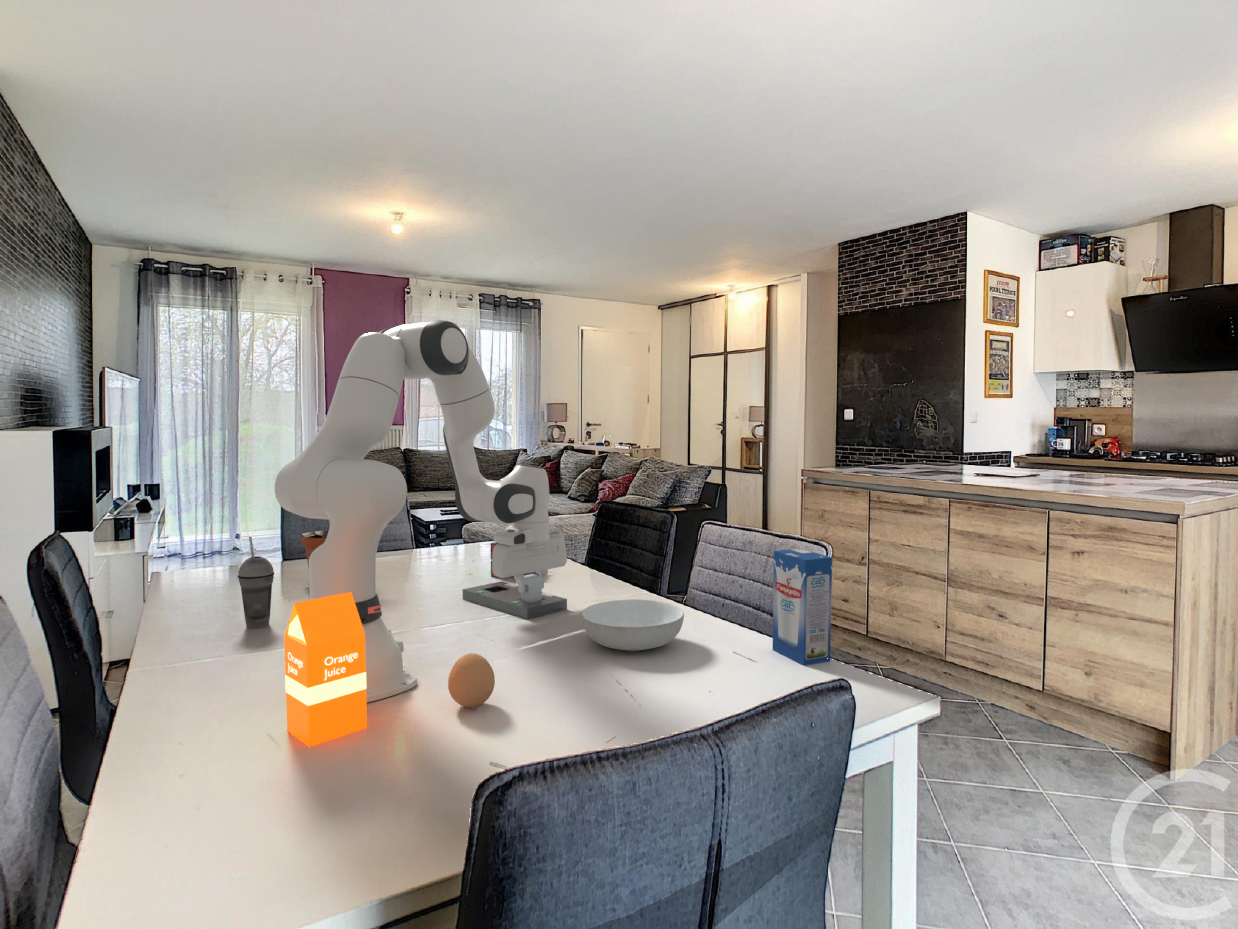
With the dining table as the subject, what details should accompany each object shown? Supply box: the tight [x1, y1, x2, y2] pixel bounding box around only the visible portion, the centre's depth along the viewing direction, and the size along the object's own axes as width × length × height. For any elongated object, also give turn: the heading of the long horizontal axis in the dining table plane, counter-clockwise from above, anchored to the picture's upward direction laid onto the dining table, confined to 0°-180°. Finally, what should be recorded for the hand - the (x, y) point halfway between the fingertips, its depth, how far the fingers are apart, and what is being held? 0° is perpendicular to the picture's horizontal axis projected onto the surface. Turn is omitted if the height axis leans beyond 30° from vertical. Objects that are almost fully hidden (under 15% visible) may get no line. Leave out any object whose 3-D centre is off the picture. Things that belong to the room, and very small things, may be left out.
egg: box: [447, 652, 496, 709], centre depth 115 cm, size 7×7×8 cm
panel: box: [462, 581, 568, 621], centre depth 176 cm, size 26×12×3 cm, turn 46°
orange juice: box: [283, 592, 368, 748], centre depth 106 cm, size 8×9×20 cm
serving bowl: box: [581, 598, 685, 652], centre depth 147 cm, size 21×21×7 cm
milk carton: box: [772, 548, 833, 666], centre depth 139 cm, size 10×6×20 cm, turn 23°
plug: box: [521, 573, 543, 603], centre depth 171 cm, size 4×4×8 cm
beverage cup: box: [237, 536, 275, 630], centre depth 159 cm, size 7×7×20 cm
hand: (531, 590), depth 171 cm, fingers closed on plug, 3 cm apart
